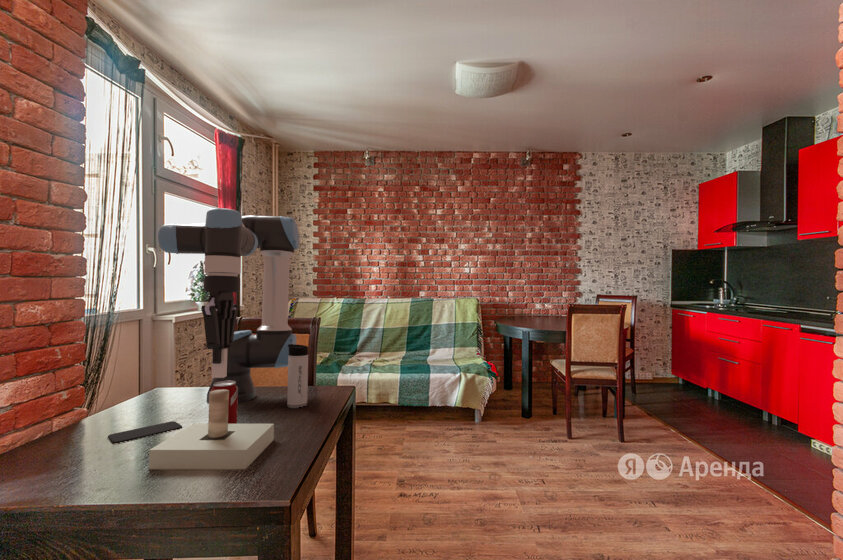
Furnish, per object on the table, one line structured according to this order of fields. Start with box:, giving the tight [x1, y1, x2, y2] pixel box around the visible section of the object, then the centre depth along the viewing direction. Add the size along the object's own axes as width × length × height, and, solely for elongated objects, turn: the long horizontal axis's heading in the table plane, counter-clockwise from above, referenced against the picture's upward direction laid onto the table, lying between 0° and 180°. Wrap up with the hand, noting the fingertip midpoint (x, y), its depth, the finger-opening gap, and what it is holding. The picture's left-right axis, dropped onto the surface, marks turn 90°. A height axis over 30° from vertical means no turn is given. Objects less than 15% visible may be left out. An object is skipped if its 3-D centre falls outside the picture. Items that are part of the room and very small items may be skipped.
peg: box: [207, 389, 229, 440], centre depth 87 cm, size 4×4×14 cm
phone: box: [107, 420, 183, 444], centre depth 99 cm, size 7×1×15 cm
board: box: [148, 423, 275, 470], centre depth 87 cm, size 16×20×4 cm
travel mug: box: [286, 344, 309, 409], centre depth 124 cm, size 6×7×20 cm
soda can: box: [210, 381, 239, 424], centre depth 104 cm, size 7×7×12 cm
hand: (219, 376), depth 87 cm, fingers closed
